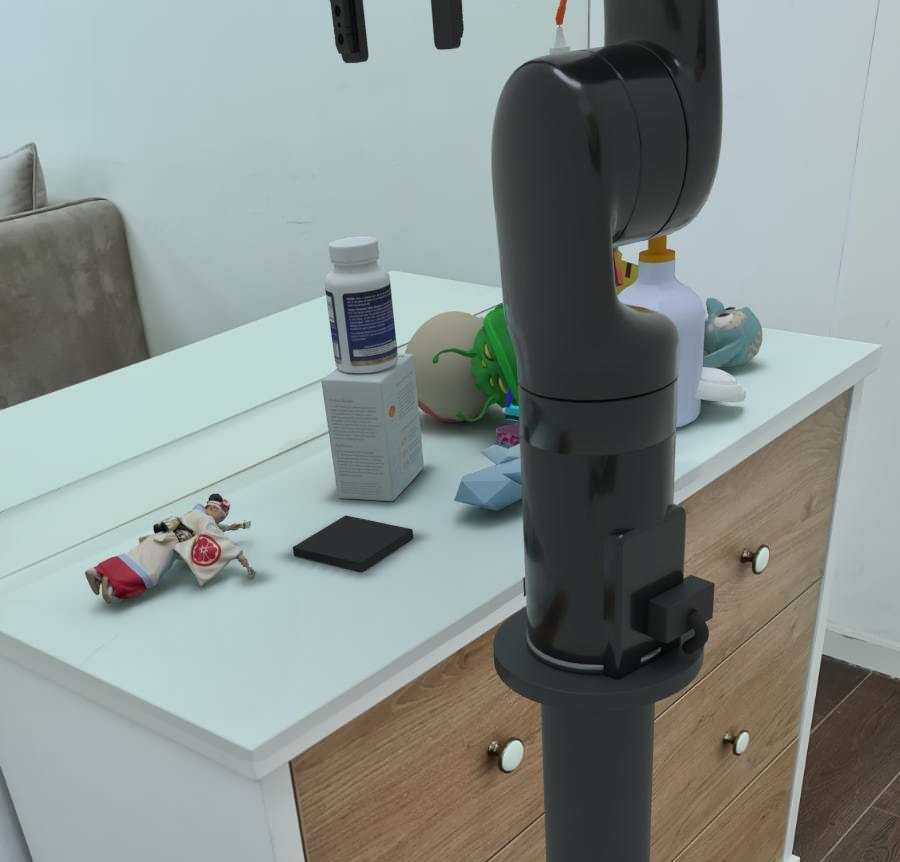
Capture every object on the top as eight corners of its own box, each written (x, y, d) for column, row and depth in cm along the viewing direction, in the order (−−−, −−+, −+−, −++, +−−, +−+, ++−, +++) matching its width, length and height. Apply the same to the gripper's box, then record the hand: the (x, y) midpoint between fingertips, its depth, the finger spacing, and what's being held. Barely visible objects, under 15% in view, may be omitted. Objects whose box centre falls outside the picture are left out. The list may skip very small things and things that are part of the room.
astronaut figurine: (701, 391, 122) (707, 360, 121) (759, 405, 112) (766, 371, 110) (625, 384, 120) (629, 353, 118) (677, 398, 109) (682, 363, 108)
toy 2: (468, 258, 112) (423, 312, 121) (413, 344, 108) (370, 392, 117) (547, 329, 115) (497, 375, 124) (496, 414, 111) (448, 456, 120)
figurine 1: (152, 639, 86) (299, 545, 94) (79, 554, 86) (232, 467, 94) (140, 673, 92) (280, 582, 99) (72, 593, 92) (217, 508, 99)
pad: (413, 538, 96) (412, 528, 95) (362, 572, 91) (360, 562, 91) (346, 523, 99) (345, 514, 99) (293, 556, 95) (292, 547, 94)
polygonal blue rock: (533, 497, 107) (533, 436, 105) (595, 503, 102) (597, 439, 100) (431, 513, 98) (429, 447, 96) (494, 520, 93) (494, 451, 91)
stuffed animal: (659, 296, 130) (768, 276, 124) (669, 361, 133) (776, 346, 127) (630, 322, 122) (744, 303, 116) (641, 391, 126) (753, 376, 120)
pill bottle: (411, 359, 100) (399, 235, 94) (373, 377, 97) (359, 250, 91) (361, 353, 103) (346, 232, 97) (323, 371, 99) (305, 246, 94)
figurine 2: (413, 325, 107) (478, 264, 99) (526, 303, 116) (594, 245, 107) (470, 454, 108) (538, 404, 100) (577, 423, 117) (648, 374, 108)
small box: (370, 466, 110) (356, 350, 104) (425, 469, 108) (415, 352, 102) (335, 499, 104) (318, 378, 98) (394, 503, 102) (380, 380, 96)
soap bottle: (587, 422, 114) (585, 136, 100) (643, 396, 119) (649, 120, 105) (662, 439, 109) (672, 140, 95) (718, 411, 114) (735, 123, 100)
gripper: (319, -261, 68) (356, 67, 77) (498, -257, 75) (512, 43, 84) (249, -238, 73) (291, 68, 82) (423, -236, 80) (444, 45, 89)
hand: (403, 55), depth 83 cm, fingers open, 8 cm apart
